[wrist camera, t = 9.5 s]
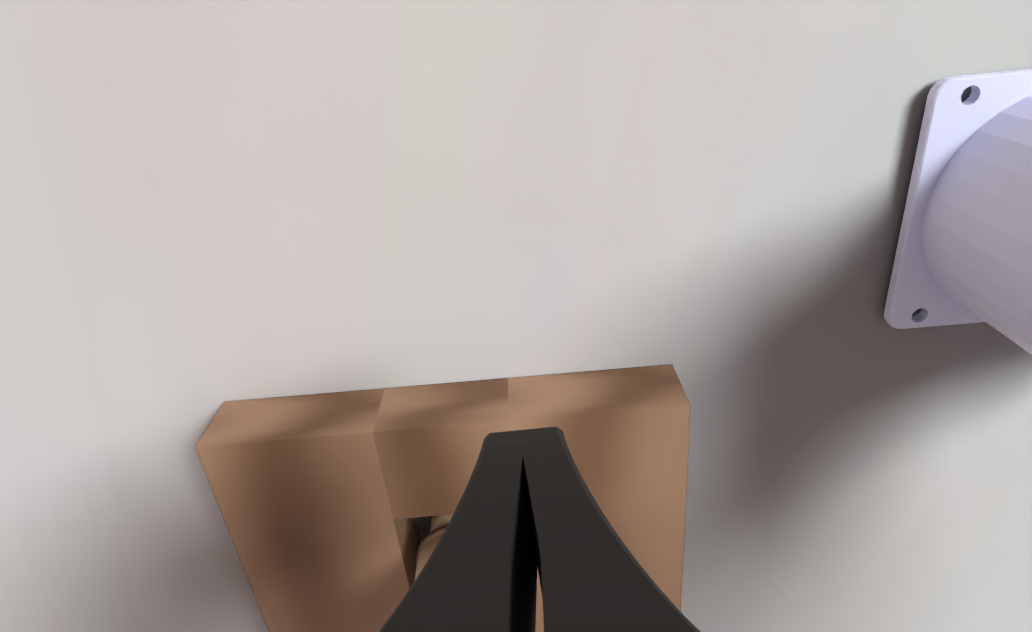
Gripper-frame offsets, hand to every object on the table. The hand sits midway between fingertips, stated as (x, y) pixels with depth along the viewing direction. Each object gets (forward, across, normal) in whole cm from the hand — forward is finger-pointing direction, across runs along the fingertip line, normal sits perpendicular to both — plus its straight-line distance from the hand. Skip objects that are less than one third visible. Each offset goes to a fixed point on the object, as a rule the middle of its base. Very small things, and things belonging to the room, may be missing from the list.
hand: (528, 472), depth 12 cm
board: (+10, +3, +10) cm, 15 cm away
